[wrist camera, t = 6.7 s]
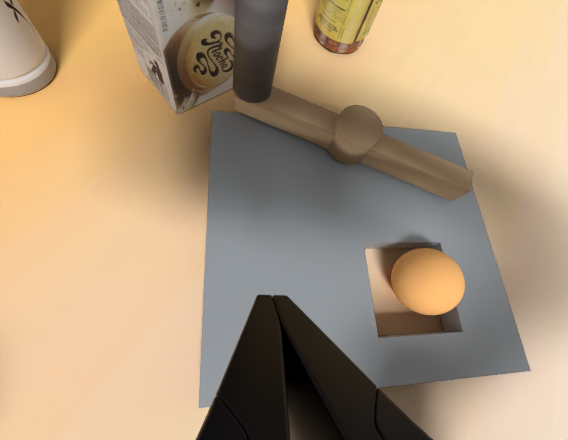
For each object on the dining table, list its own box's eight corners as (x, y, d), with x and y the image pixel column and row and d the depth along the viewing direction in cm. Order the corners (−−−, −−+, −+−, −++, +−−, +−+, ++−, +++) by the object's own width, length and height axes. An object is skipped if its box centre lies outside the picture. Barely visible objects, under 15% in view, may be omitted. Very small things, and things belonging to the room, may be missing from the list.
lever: (451, 208, 24) (615, 126, 14) (225, 114, 23) (223, -51, 13) (455, 175, 25) (605, 78, 15) (241, 85, 24) (252, -85, 14)
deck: (505, 366, 23) (530, 370, 21) (201, 399, 18) (198, 407, 16) (441, 144, 30) (455, 133, 28) (213, 126, 25) (212, 110, 23)
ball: (491, 268, 18) (467, 294, 22) (425, 224, 21) (414, 254, 25) (442, 319, 17) (426, 336, 21) (379, 265, 20) (375, 290, 24)
